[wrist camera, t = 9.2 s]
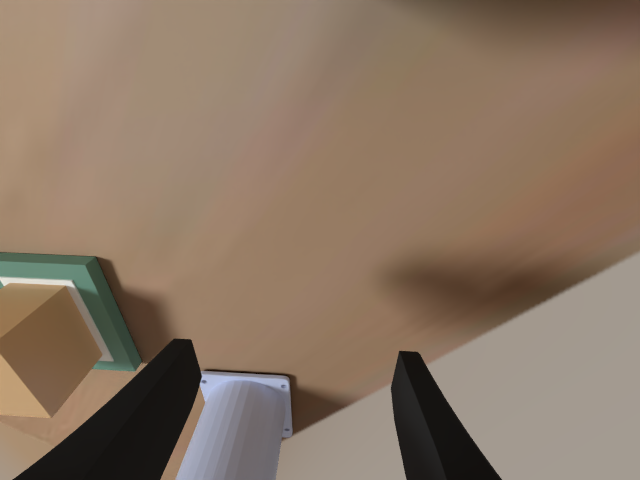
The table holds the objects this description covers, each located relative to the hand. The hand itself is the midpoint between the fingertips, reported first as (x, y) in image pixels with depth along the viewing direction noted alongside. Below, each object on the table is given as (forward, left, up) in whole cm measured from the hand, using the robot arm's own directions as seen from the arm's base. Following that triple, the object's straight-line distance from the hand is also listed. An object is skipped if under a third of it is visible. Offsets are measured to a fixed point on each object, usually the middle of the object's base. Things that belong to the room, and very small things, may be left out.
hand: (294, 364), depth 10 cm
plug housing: (-8, +19, -8) cm, 22 cm away
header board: (-8, +19, -9) cm, 23 cm away
